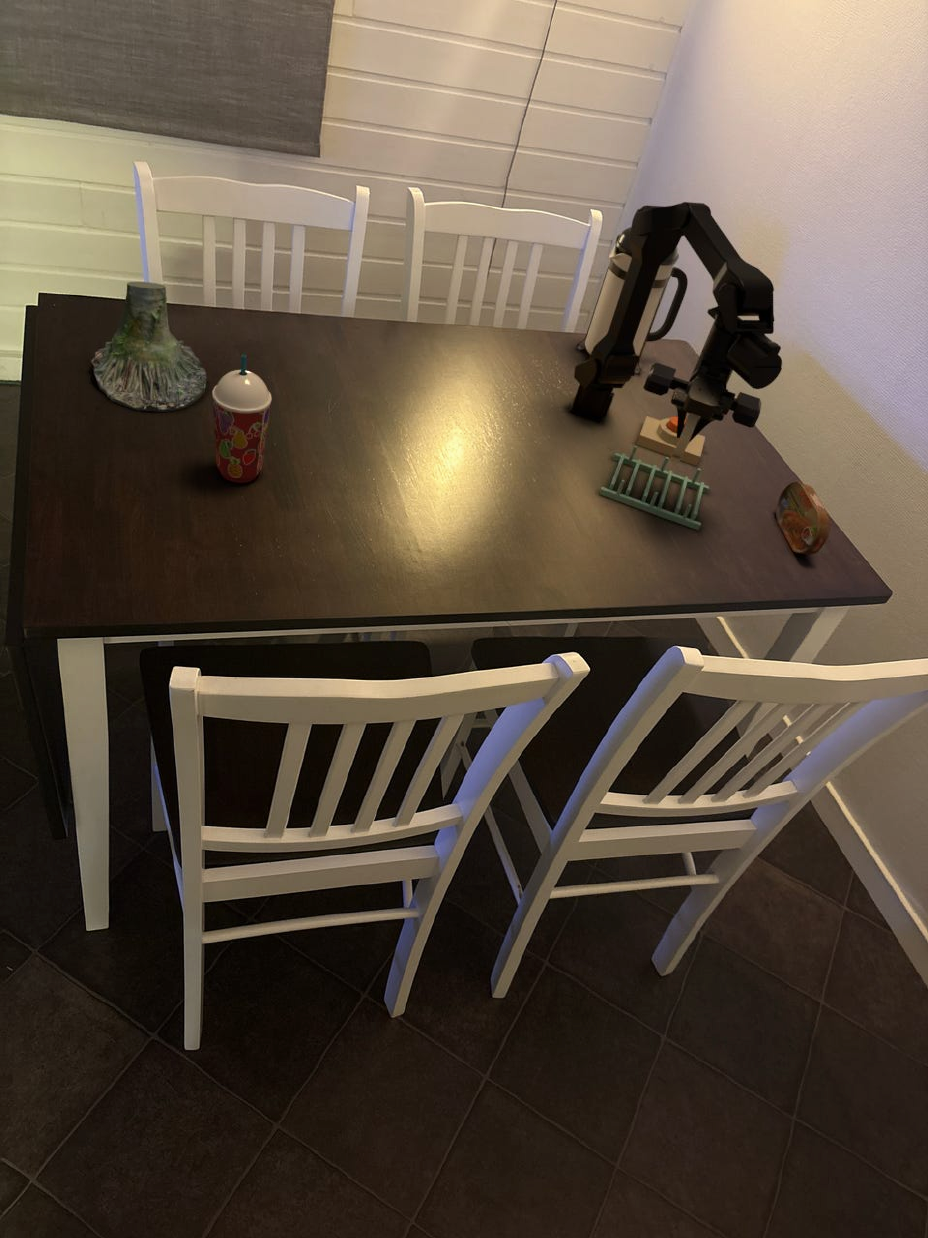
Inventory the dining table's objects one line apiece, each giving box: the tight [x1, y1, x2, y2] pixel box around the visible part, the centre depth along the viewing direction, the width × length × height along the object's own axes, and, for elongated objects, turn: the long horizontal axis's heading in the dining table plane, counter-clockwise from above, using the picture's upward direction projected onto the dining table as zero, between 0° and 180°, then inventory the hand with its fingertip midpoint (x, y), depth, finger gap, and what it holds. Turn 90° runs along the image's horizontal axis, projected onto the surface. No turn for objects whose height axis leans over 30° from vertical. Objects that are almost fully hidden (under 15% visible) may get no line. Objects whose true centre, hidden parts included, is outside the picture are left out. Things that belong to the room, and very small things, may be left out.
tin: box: [775, 481, 831, 555], centre depth 155 cm, size 15×3×8 cm, turn 5°
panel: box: [635, 415, 706, 467], centre depth 171 cm, size 12×8×4 cm, turn 73°
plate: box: [669, 413, 700, 465], centre depth 150 cm, size 2×9×10 cm, turn 162°
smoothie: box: [211, 354, 273, 484], centre depth 132 cm, size 8×8×20 cm
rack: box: [599, 445, 710, 531], centre depth 158 cm, size 18×13×4 cm
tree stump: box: [90, 281, 207, 413], centre depth 149 cm, size 18×20×18 cm
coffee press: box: [576, 226, 689, 375], centre depth 183 cm, size 17×16×30 cm
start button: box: [667, 416, 678, 433], centre depth 169 cm, size 4×4×2 cm
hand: (683, 438), depth 151 cm, fingers closed on plate, 2 cm apart
